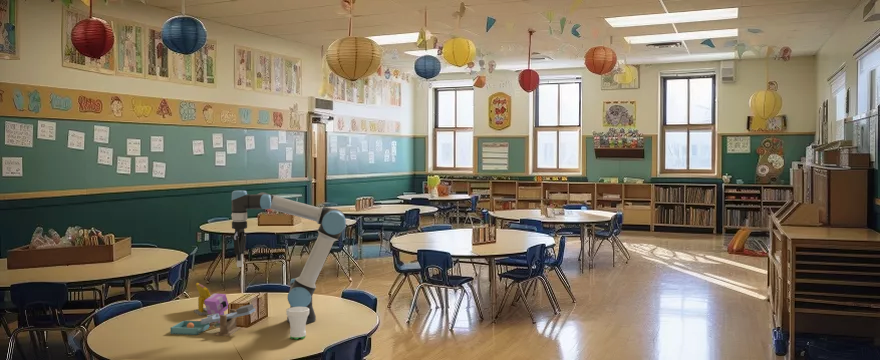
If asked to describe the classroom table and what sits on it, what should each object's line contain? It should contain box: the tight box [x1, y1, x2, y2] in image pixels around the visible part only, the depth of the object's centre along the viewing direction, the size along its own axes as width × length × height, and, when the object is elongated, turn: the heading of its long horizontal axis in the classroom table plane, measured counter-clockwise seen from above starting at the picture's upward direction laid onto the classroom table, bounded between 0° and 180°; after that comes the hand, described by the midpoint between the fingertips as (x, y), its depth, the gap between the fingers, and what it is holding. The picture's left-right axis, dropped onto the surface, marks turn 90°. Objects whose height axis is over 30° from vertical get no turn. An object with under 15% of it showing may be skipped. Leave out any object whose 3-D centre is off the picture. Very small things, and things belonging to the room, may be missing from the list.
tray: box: [169, 320, 211, 336], centre depth 348 cm, size 14×14×3 cm
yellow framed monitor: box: [193, 282, 212, 316], centre depth 385 cm, size 20×8×16 cm, turn 34°
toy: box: [204, 293, 230, 324], centre depth 365 cm, size 11×8×15 cm
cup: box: [285, 307, 309, 340], centre depth 336 cm, size 11×11×14 cm
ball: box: [187, 323, 194, 328], centre depth 348 cm, size 4×4×4 cm
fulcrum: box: [215, 308, 241, 337], centre depth 346 cm, size 7×14×10 cm, turn 175°
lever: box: [200, 303, 256, 325], centre depth 346 cm, size 26×10×4 cm, turn 84°
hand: (240, 266), depth 350 cm, fingers closed
